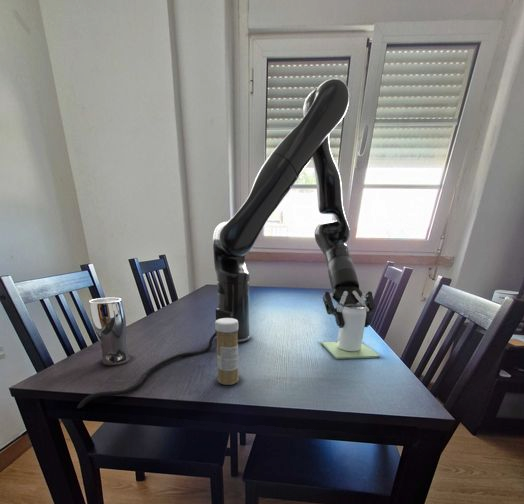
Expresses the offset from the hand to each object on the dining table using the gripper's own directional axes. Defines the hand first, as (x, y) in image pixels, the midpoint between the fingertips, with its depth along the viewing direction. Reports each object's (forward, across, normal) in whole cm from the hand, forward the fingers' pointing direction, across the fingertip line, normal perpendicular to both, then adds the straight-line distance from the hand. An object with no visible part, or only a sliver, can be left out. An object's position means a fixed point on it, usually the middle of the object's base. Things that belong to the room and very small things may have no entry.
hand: (354, 326), depth 75 cm
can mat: (+4, 0, +6) cm, 8 cm away
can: (+4, 0, +6) cm, 7 cm away
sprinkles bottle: (+15, -34, -5) cm, 38 cm away
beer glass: (+5, -61, +5) cm, 62 cm away
